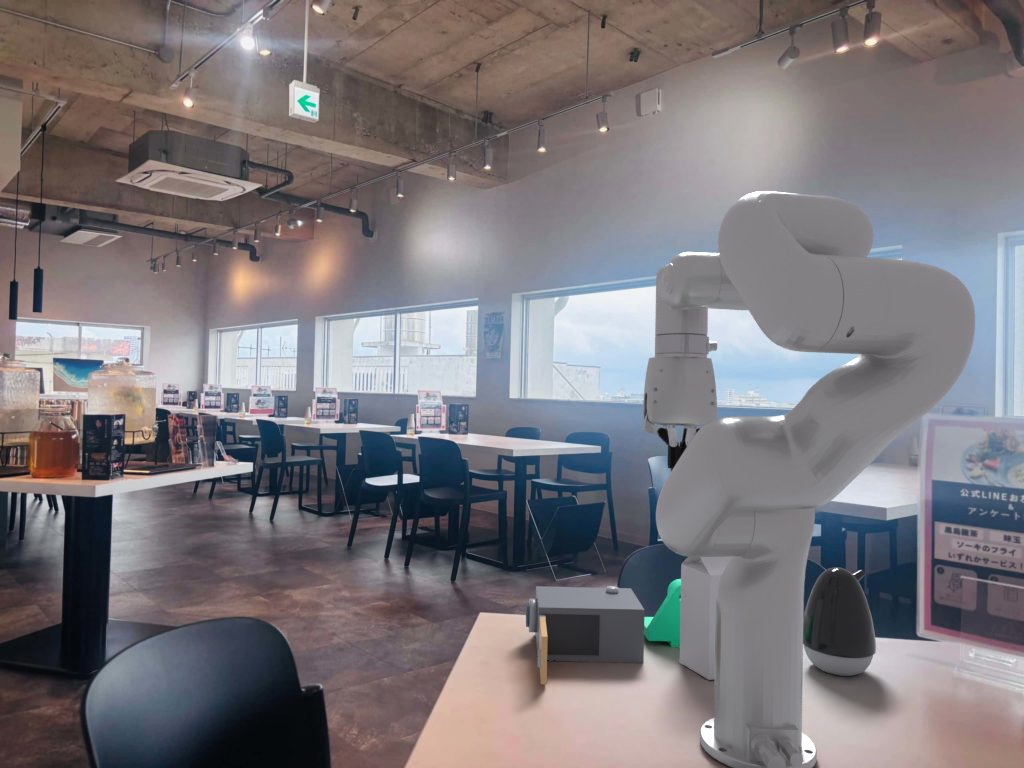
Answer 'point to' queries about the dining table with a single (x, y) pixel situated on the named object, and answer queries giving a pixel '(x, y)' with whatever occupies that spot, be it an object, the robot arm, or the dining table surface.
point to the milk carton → (699, 612)
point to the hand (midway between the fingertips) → (678, 473)
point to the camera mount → (666, 618)
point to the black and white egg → (839, 624)
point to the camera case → (589, 623)
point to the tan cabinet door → (542, 649)
